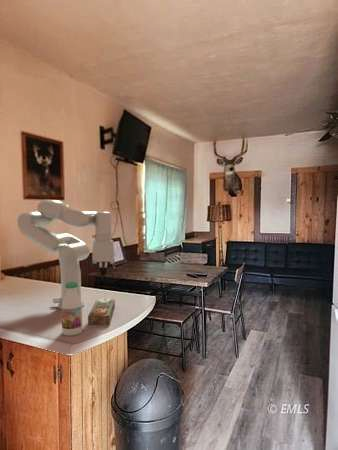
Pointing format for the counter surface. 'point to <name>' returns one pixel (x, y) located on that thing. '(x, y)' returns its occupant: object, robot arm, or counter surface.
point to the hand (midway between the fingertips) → (103, 275)
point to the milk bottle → (71, 311)
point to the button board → (101, 318)
